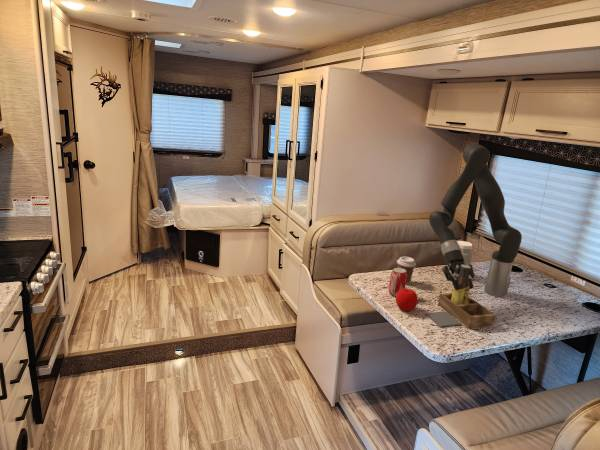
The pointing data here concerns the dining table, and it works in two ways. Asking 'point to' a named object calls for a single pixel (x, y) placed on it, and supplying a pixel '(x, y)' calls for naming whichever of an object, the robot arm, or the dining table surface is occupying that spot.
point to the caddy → (467, 312)
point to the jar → (465, 251)
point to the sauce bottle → (462, 286)
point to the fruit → (406, 299)
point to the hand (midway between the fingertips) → (464, 288)
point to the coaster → (443, 319)
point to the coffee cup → (407, 266)
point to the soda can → (397, 280)
